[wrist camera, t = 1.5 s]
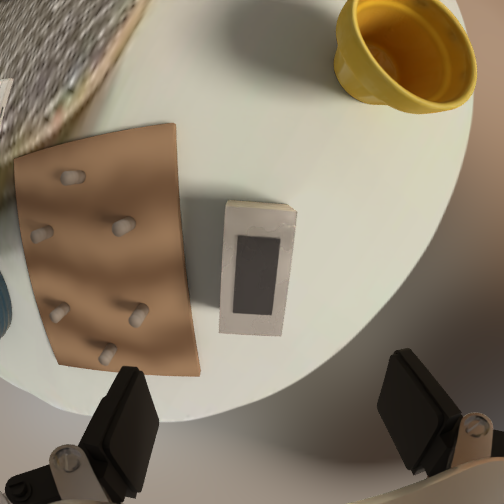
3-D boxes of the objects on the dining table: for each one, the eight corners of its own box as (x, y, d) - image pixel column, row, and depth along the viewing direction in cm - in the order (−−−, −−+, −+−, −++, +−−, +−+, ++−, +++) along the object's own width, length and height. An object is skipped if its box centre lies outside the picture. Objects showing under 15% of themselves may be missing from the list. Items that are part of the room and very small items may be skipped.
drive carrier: (228, 199, 24) (225, 206, 20) (287, 204, 25) (297, 212, 20) (222, 307, 27) (218, 334, 22) (275, 311, 27) (281, 337, 23)
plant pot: (403, 143, 23) (472, 138, 14) (300, 100, 22) (334, 61, 12) (419, 56, 20) (478, 27, 11) (326, 11, 19) (361, -45, 10)
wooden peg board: (19, 158, 22) (-2, 159, 18) (175, 124, 22) (165, 117, 19) (62, 360, 28) (49, 376, 25) (200, 370, 29) (196, 392, 25)
